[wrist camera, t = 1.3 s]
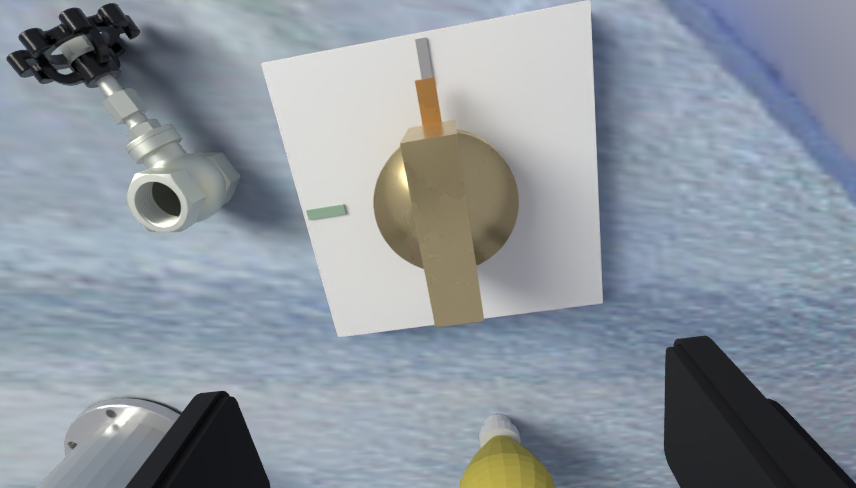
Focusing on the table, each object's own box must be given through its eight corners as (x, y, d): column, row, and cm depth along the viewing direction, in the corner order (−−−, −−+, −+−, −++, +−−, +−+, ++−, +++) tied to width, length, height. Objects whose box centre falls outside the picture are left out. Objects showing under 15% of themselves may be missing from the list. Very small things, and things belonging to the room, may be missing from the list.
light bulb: (555, 427, 38) (590, 545, 29) (494, 468, 40) (508, 592, 31) (501, 378, 36) (519, 486, 27) (440, 423, 38) (437, 538, 29)
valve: (270, 179, 31) (151, 9, 28) (228, 207, 25) (67, -6, 22) (197, 224, 33) (74, 67, 29) (139, 261, 27) (-25, 69, 23)
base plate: (589, 283, 33) (603, 304, 30) (346, 315, 35) (337, 339, 32) (575, 6, 27) (591, -1, 24) (279, 62, 29) (259, 63, 26)
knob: (520, 253, 29) (543, 313, 22) (395, 270, 30) (379, 334, 23) (499, 64, 25) (519, 65, 18) (356, 90, 26) (322, 100, 19)
